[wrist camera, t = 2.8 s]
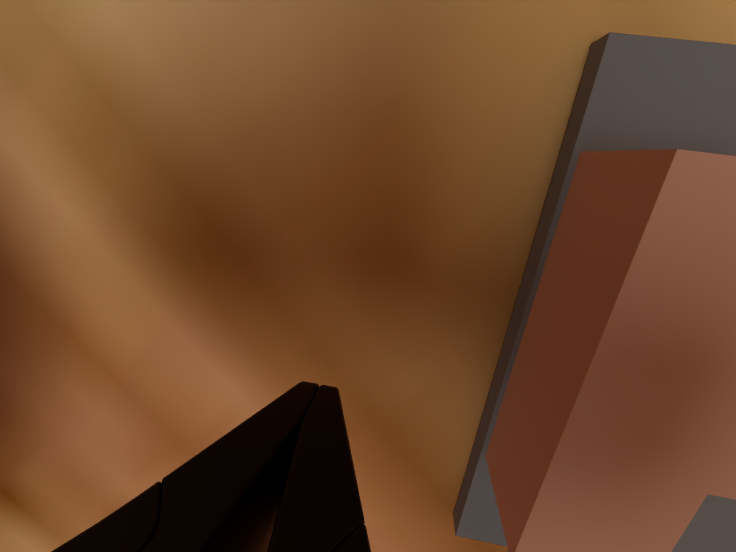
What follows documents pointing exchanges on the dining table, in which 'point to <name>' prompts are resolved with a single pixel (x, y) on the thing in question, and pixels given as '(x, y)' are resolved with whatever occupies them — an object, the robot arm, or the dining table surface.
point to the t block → (625, 361)
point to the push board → (584, 133)
